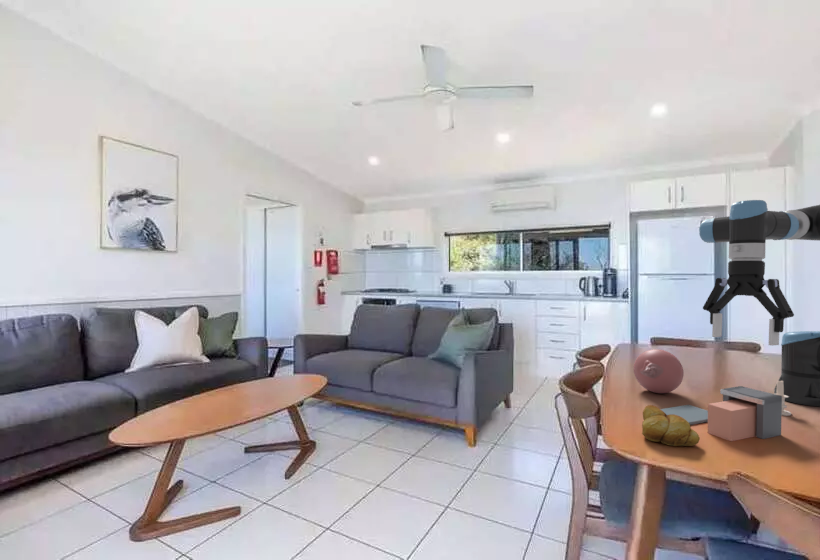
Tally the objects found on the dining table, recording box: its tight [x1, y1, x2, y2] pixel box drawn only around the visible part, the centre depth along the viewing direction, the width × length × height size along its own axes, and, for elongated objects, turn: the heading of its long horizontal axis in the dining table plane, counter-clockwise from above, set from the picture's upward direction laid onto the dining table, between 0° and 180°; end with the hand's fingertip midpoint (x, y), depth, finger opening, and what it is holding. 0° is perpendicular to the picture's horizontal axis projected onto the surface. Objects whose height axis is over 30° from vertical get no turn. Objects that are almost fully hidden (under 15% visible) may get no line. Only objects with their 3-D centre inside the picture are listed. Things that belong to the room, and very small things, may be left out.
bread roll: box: [641, 404, 700, 447], centre depth 107 cm, size 13×10×8 cm
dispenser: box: [719, 385, 783, 440], centre depth 114 cm, size 8×10×10 cm
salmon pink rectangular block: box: [707, 399, 757, 442], centre depth 112 cm, size 13×6×8 cm, turn 110°
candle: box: [776, 380, 792, 417], centre depth 128 cm, size 5×5×10 cm
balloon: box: [633, 348, 685, 394], centre depth 148 cm, size 15×20×15 cm
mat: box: [660, 404, 708, 426], centre depth 125 cm, size 18×11×1 cm, turn 110°
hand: (743, 340), depth 110 cm, fingers open, 13 cm apart
